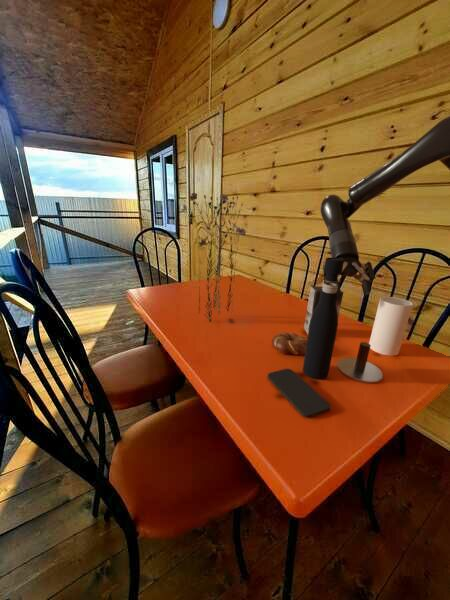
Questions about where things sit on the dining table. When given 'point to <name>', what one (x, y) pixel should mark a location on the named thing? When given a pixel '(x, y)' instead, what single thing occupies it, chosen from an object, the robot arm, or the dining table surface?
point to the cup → (390, 325)
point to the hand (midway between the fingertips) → (352, 293)
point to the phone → (299, 393)
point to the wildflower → (240, 231)
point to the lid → (360, 367)
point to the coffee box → (314, 301)
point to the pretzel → (289, 343)
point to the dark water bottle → (323, 324)
